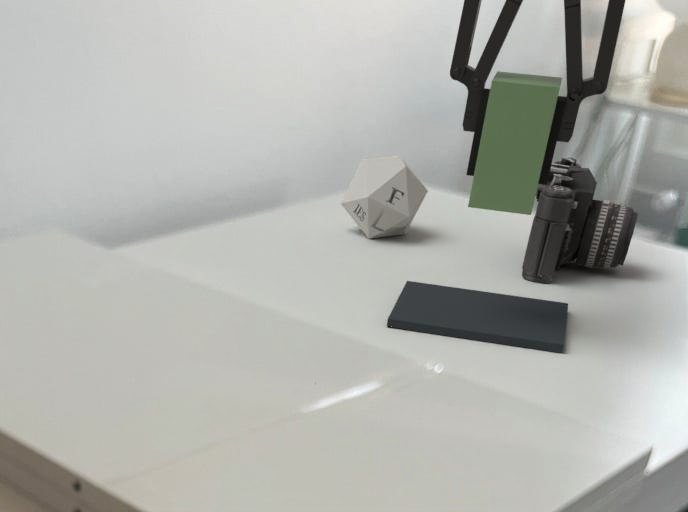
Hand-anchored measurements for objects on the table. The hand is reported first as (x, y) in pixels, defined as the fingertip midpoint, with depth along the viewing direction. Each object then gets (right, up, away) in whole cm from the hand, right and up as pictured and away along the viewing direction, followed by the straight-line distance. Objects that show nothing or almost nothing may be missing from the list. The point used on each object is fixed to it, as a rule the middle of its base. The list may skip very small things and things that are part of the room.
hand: (507, 176), depth 91 cm
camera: (+13, 0, +22) cm, 26 cm away
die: (-6, +7, +30) cm, 31 cm away
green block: (0, -2, +1) cm, 2 cm away
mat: (0, -10, +8) cm, 13 cm away
